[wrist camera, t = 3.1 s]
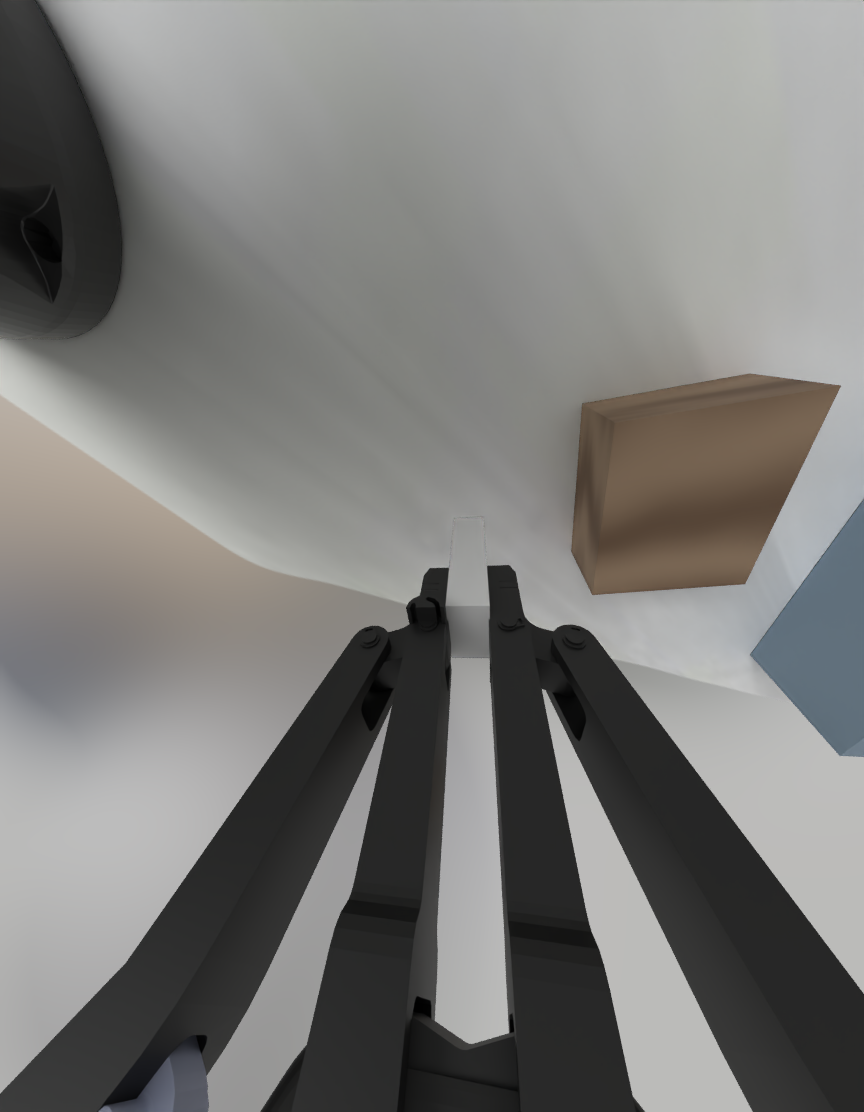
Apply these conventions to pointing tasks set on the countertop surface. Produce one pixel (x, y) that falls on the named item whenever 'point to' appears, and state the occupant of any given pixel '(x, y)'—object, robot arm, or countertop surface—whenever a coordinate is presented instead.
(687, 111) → the countertop surface
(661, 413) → the walnut block
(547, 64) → the countertop surface
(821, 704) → the slate board
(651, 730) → the robot arm
